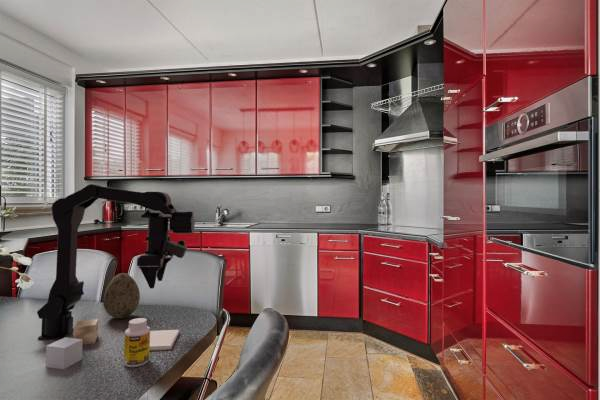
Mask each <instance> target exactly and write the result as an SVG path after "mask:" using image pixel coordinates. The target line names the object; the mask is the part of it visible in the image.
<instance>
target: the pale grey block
mask: <svg viewBox="0 0 600 400" xmlns="http://www.w3.org/2000/svg"><path fill="white" fill-rule="evenodd" d="M45 348H46V349H45V350H46V352H45V367H46V368H50V369H58V370H59V369H60V370H66V369H67V368H69V367H70V366H72V365H75V364H76V363H78V362H79V361H82V359H83V344H82V339H76V338H73V337H66V336H65V337H64V338H60V339H59V340H58V339H57V340H56V341H54V342H51V343H49V344H47V345H46V347H45Z"/></svg>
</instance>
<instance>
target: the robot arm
mask: <svg viewBox="0 0 600 400" xmlns="http://www.w3.org/2000/svg"><path fill="white" fill-rule="evenodd" d="M99 199H102V200H107V201H113V202H122V203H128V204H134V205H137V206H139V207H142V208H145V209H147V210H146V211H145V212H144V213H143V214H141V215H140V217H141V219H142V218H143V219H148V220H147V224H148V225H147V236H146V237H145V241H147V244H146V245H147V246H146V248H147V249H146V250H144V254H141V255H140V256H139V257H138V258H137V259H136V266H137V267H138V268H139V269H140V271H141V273H142V275H143V276H144V279H145V281H146V283H147V285H148V287H149V289H154V288H155V286H156V281H158V282H162V281H163V279H164V275H165V272H166V267H167V265H168V263H169V262H170V261H171V260H172V259H173V258H174V256H175V257H177V258H179V259H183V258H184V257H185V254H186V252H187V251H188V245H186V241H185V240H182V239H180V240H178V242H177V241H172V240H171V238H172V237H171V236H170V235H169V230H170V231H172V233H173V234H194V232H195V223H196V221H195V218H194V211H178V210H177V209H176V208H175V206H174V205H173V204H172V199H171V196H170V195H169V193H167V192H164V191H163V192H162V191H134V190H129V189H122V188H121V189H120V188H116V187H108V186H102V185H100V184H94V183H93V184H92V183H91V184H88V185H86V186H85V187H83V188H82V189H79V190H77V191H75V192H73V193H71V194H69V195H67V196H65V197H64V198H63V197H62V198H59V199H57V200H55V201H54V202H53V203H52V204H51V213H52V220H53V222H54V224H55V226H56V227H57V249H56V267H55V268H56V271H55V280H54V282H53V284H52V286H51V288H50V290H49V293H48V296H47V297H48V298H47V302H45V304H44V305H43V306H42V307H41V308H40V309H38V310H37V312H36V315H37V316H38V319H41V334H40V335H39V336H38V337H37V340H53V339H54V340H56V339H57V340H58V339H59V340H60V339H63V338H65V337H66V336H68V335H69V334H71V333H72V332H74V317H73V316H72V313H73V312H72V311H71V310H73V309H74V308H75V307H76V304H77V303H78V302H79V301H81V299H82V296H83V295H84V294H85V292H84V290H83V289H84V284H85V282H84V281H83V280H82V281H79V280H78V278H77V256H78V255H77V254H78V253H77V252H78V251H77V250H78V236H79V235H78V232H79V231H78V230H79V227H80V225H81V223H82V221H83V219H84V215H85V212H86V211H85V210H86V209H88V208H89V207H91V206H92V205H93V204H94V203H95V202H96V201H97V200H99ZM152 211H153V212H152ZM154 211H155V212H154ZM158 211H159V212H158ZM166 215H167V216H166Z"/></svg>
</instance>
